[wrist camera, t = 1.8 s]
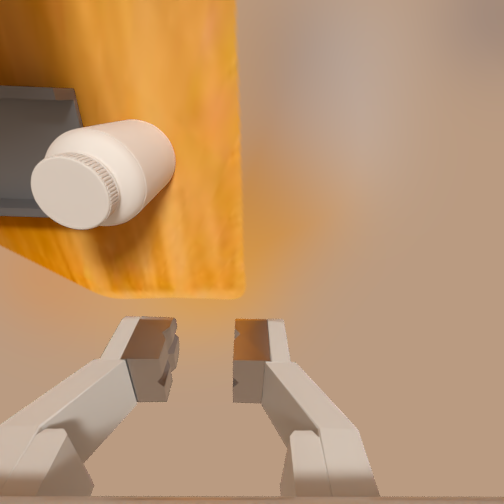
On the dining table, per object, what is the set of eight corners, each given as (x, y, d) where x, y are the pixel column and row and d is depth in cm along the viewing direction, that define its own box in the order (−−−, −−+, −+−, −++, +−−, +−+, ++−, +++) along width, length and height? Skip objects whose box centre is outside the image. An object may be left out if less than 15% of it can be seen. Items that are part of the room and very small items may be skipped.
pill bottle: (160, 108, 30) (92, 120, 17) (186, 181, 34) (147, 235, 21) (93, 128, 31) (-22, 153, 18) (126, 196, 35) (52, 258, 21)
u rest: (-86, 81, 28) (-128, 79, 25) (73, 88, 29) (52, 87, 26) (-28, 203, 35) (-55, 214, 32) (102, 207, 35) (88, 218, 32)
